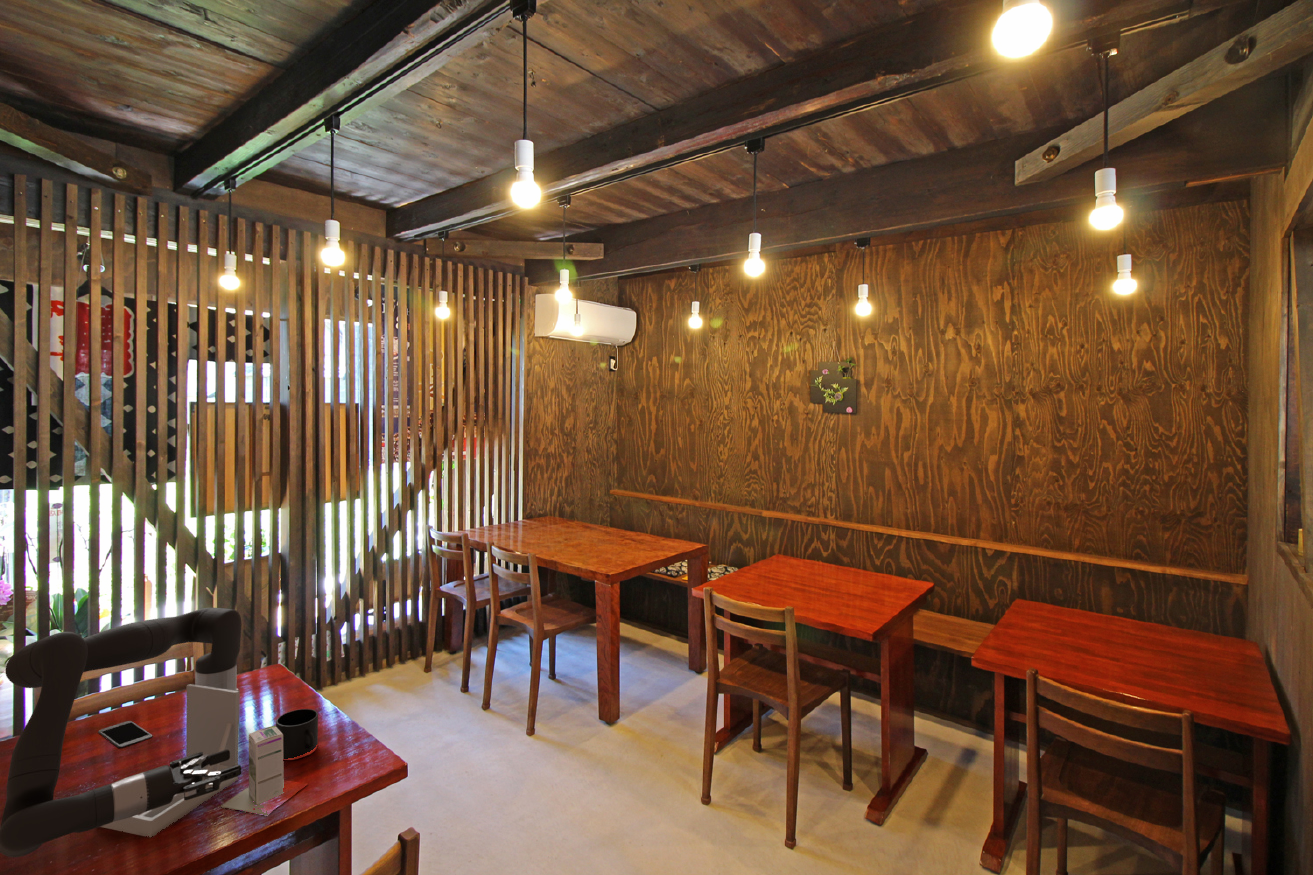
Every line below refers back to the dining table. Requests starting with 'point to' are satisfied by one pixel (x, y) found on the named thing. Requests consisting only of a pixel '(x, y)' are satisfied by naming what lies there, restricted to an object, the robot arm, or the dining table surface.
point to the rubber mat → (243, 803)
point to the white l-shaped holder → (206, 732)
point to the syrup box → (266, 764)
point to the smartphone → (125, 734)
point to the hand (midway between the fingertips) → (235, 761)
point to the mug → (298, 732)
